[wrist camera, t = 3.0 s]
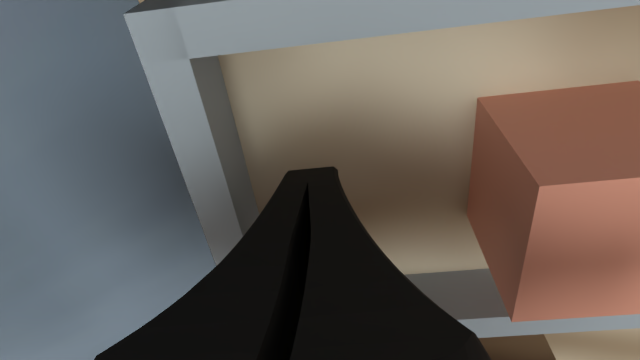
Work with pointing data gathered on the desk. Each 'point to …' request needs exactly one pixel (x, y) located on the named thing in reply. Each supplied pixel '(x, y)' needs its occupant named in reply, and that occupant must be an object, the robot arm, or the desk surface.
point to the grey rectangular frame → (295, 30)
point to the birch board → (420, 126)
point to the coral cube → (560, 200)
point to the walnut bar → (518, 347)
